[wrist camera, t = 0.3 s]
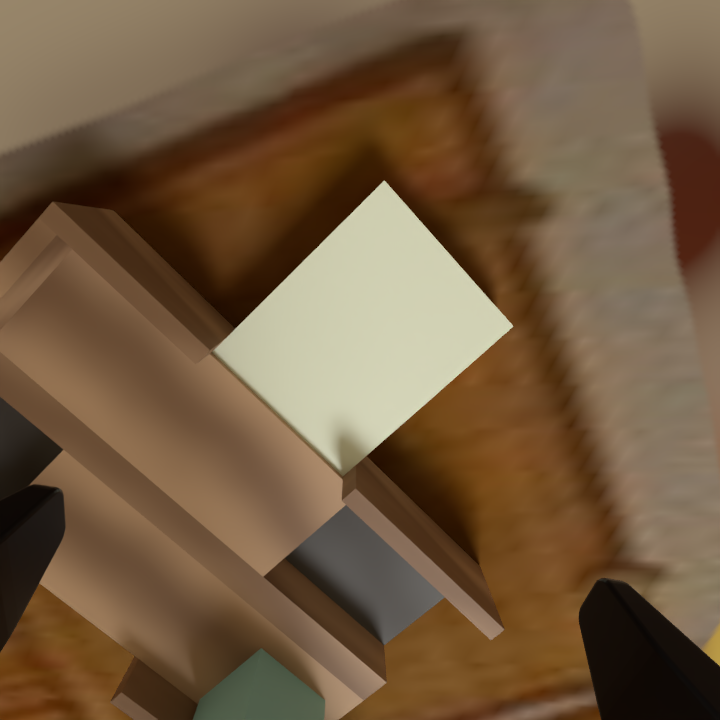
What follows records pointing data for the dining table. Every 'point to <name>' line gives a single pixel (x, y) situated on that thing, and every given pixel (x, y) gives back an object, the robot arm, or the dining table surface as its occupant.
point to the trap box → (197, 486)
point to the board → (363, 332)
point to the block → (261, 694)
